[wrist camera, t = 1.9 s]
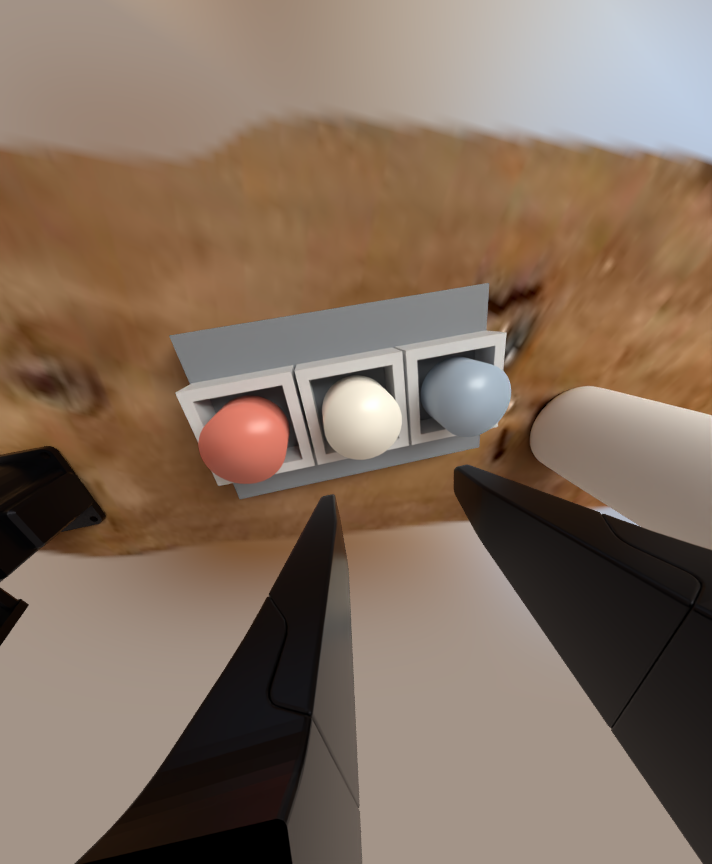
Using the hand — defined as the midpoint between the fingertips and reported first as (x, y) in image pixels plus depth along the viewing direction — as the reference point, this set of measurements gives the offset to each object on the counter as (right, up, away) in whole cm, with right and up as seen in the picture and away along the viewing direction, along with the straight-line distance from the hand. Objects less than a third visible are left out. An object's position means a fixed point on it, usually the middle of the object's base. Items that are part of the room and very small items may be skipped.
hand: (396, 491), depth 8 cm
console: (-2, +5, +11) cm, 12 cm away
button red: (-7, +2, +7) cm, 10 cm away
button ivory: (-1, +3, +7) cm, 8 cm away
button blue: (+5, +4, +8) cm, 10 cm away
